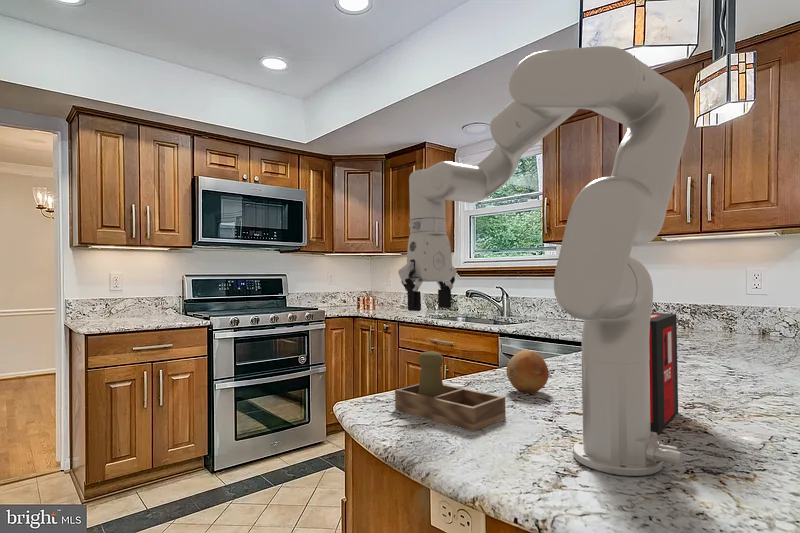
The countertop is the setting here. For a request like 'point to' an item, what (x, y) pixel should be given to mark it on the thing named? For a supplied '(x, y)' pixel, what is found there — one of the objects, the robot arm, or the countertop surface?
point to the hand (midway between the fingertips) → (430, 309)
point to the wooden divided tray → (453, 406)
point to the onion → (527, 371)
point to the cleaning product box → (663, 370)
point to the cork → (430, 374)
